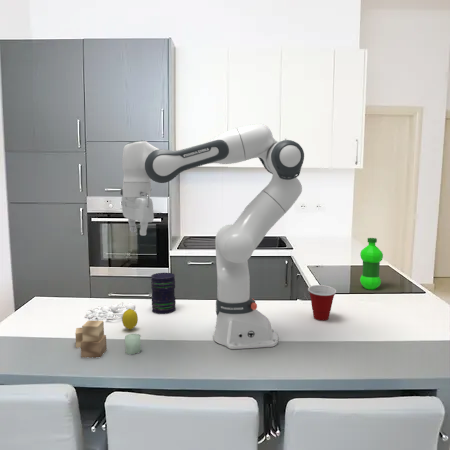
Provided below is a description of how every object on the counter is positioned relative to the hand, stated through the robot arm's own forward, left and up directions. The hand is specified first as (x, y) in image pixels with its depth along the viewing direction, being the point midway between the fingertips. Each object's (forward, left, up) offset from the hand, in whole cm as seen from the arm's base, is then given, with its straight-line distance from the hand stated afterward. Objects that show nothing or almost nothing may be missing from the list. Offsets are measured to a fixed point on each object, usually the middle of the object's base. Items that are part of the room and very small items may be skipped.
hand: (138, 233), depth 135 cm
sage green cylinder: (+1, +8, -37) cm, 38 cm away
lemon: (+7, -10, -37) cm, 39 cm away
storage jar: (-1, -32, -37) cm, 49 cm away
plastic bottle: (-97, -69, -37) cm, 125 cm away
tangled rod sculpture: (+19, -24, -38) cm, 49 cm away
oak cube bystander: (+19, +3, -37) cm, 42 cm away
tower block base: (+13, +10, -37) cm, 41 cm away
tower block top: (+13, +10, -32) cm, 36 cm away
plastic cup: (-65, -25, -37) cm, 79 cm away
